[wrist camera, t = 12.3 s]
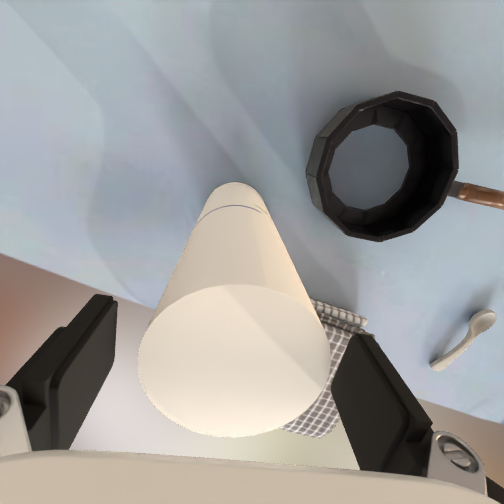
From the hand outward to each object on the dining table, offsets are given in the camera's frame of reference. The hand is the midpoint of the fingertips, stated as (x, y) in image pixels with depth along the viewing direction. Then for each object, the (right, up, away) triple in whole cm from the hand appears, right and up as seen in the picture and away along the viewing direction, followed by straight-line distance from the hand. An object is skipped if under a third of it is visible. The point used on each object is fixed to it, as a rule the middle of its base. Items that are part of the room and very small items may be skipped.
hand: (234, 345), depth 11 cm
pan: (+19, +12, +22) cm, 32 cm away
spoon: (+31, -9, +32) cm, 45 cm away
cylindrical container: (-1, +8, +23) cm, 24 cm away
